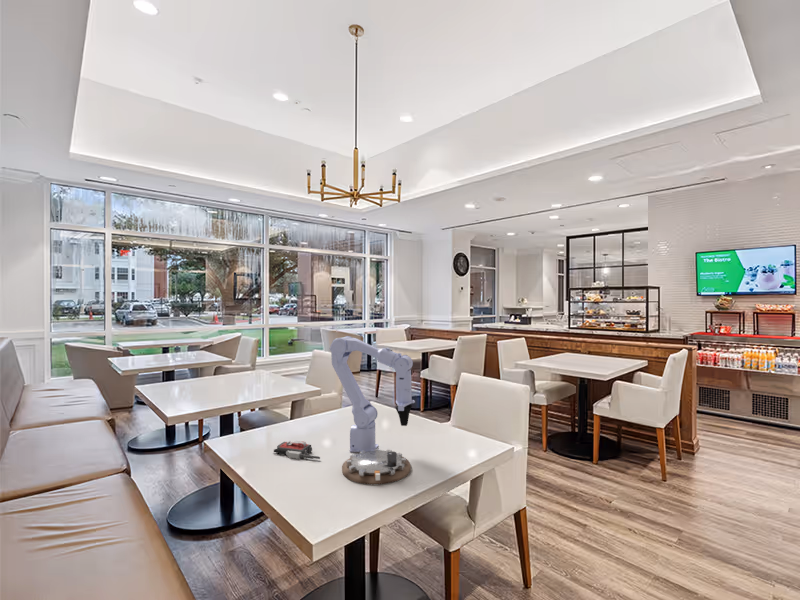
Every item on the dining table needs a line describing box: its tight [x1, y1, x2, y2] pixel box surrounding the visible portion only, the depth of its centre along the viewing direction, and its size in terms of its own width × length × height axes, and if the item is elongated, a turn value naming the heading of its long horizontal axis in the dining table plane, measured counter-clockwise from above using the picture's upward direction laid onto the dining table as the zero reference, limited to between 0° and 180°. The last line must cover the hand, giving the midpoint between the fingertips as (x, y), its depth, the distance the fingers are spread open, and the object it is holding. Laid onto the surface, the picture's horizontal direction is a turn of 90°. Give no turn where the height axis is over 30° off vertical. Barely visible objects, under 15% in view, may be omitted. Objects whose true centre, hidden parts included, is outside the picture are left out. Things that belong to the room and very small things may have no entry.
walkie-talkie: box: [273, 440, 321, 460], centre depth 148 cm, size 9×4×20 cm
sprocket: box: [346, 448, 407, 477], centre depth 135 cm, size 20×20×6 cm
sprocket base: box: [341, 456, 412, 486], centre depth 135 cm, size 23×23×3 cm
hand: (404, 425), depth 149 cm, fingers closed
